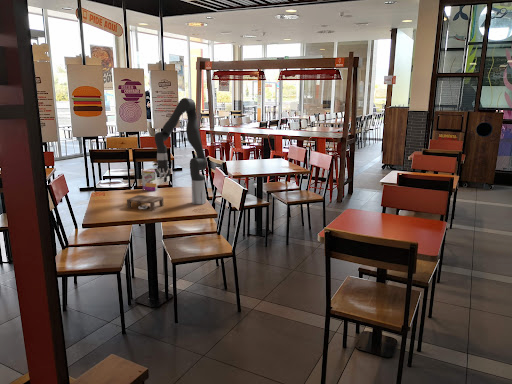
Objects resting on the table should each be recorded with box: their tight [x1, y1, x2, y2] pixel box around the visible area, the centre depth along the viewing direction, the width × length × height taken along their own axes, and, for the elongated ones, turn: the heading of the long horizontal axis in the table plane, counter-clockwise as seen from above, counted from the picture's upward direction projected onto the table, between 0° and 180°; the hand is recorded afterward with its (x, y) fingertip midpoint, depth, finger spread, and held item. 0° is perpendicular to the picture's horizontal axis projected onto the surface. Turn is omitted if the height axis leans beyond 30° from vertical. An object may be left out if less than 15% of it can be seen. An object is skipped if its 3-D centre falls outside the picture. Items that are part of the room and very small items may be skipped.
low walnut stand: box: [126, 194, 165, 212], centre depth 280 cm, size 20×14×6 cm
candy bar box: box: [141, 169, 158, 192], centre depth 328 cm, size 11×5×16 cm, turn 84°
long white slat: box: [146, 175, 170, 188], centre depth 297 cm, size 8×26×4 cm, turn 164°
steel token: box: [137, 204, 148, 210], centre depth 277 cm, size 6×6×2 cm
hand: (163, 181), depth 303 cm, fingers closed on long white slat, 2 cm apart
